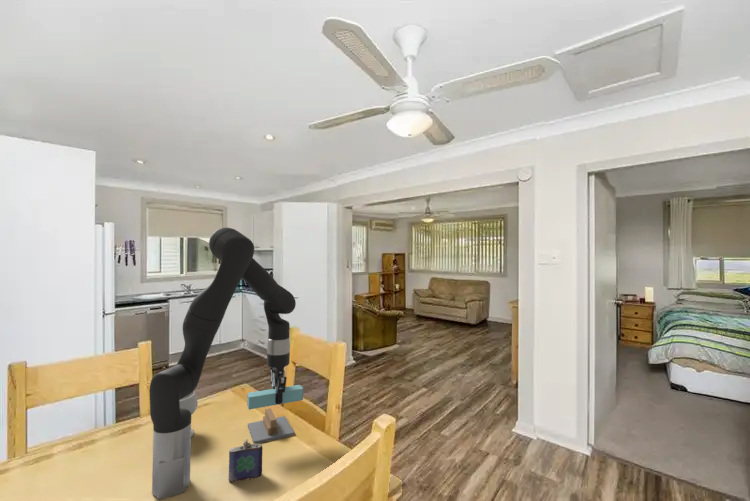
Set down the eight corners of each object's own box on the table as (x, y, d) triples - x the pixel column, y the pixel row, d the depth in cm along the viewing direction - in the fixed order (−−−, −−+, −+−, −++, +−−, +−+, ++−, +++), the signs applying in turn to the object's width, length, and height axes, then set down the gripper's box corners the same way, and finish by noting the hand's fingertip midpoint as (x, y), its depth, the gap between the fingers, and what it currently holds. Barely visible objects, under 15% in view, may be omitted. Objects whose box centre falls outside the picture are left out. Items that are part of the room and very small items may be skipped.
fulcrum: (294, 435, 127) (294, 418, 127) (253, 444, 120) (254, 426, 120) (284, 418, 139) (285, 403, 139) (247, 426, 132) (247, 410, 132)
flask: (228, 483, 100) (229, 446, 100) (228, 477, 103) (229, 440, 103) (262, 477, 103) (262, 441, 103) (262, 471, 106) (262, 436, 106)
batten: (302, 400, 122) (303, 388, 122) (248, 409, 114) (249, 397, 114) (299, 395, 126) (300, 384, 126) (247, 404, 117) (247, 392, 117)
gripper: (295, 355, 116) (293, 407, 116) (284, 344, 128) (283, 391, 128) (271, 358, 112) (270, 411, 112) (263, 346, 125) (262, 395, 125)
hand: (277, 400), depth 120 cm, fingers closed on batten, 4 cm apart
